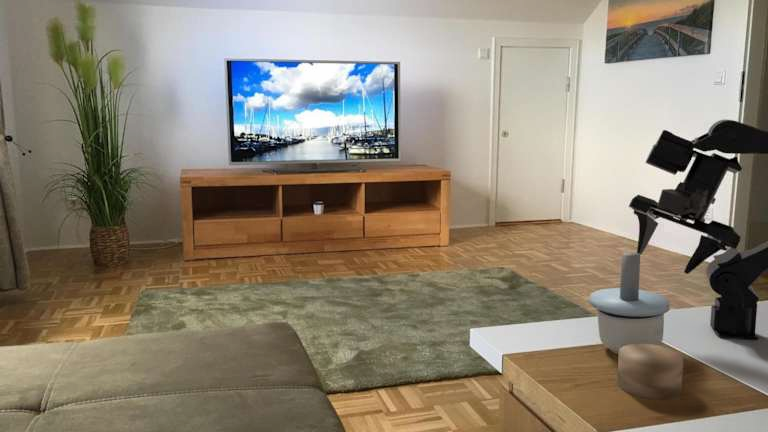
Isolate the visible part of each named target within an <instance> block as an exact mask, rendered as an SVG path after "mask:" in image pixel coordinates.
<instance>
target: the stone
mask: <svg viewBox="0 0 768 432" xmlns="http://www.w3.org/2000/svg"><path fill="white" fill-rule="evenodd" d="M617 360H618V362H617V363H618V364H617V384H618V385H617V386H618V387H619V388H620V389H622V390H623V391H625V392H626V393H629V394H630V395H633V396H636V397H640V398H643V399H650V400H651V399H652V400H668V399H674V398H676V397H678V396H680V394H682V388H683V386H682V385H683V373H684V372H683V371H684V357H683V355H682V354H681V353H680V352H678V351H677V350H674V349H673V348H670V347H666V346H663V345H660V346H659V345H653V344H630V345H626V346H623V347H621V348H620V349H619V355H618V358H617Z"/></svg>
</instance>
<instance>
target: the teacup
mask: <svg viewBox="0 0 768 432" xmlns="http://www.w3.org/2000/svg"><path fill="white" fill-rule="evenodd" d="M596 311H597V324H598V325H597V326H598V335H599V336H598V337H599V339H600V341H601V343H602V344H603V345H604V346H605V347H606V348H607V349H609V350H610V351H611V352H612V353H613V354H616V355H618V356H619V349H620V348H621V347H623V346H626V345H630V344H653V345H659V346H662V343H663V340H664V326H665V325H664V323H665V319H664V318H665V313H664V314H661V315H656V316H646V317H634V316H623V315H616V314H611V313H607V312H604V311H601V310H598V309H596Z"/></svg>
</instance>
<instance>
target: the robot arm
mask: <svg viewBox="0 0 768 432" xmlns="http://www.w3.org/2000/svg"><path fill="white" fill-rule="evenodd" d="M694 149H696V150H694ZM697 150H698V151H697ZM700 151H701V152H700ZM711 151H717V152H718V153H719V152H720V153H722V154H726V155H727V154H732V155H733V154H737V155H738V154H739V155H748V154H749V155H753V154H755V155H757V154H758V155H759V154H763V155H764V154H767V155H768V131H767V130H763V129H760V128H757V127H755V126H752V125H749V124H745V123H742V122H739V121H736V120H732V119H720V120H718V121H716V122H715V123H714V122H713V124H712V125H711V126H710V127H709V129H708V131H707V132H706V133H704V134H702V135H700V136H699V137H695V138H694V139H693V140H688V139H686V138H683V137H680V136H678V135H676V134H674V133H673V132H672V131H669V130H666V129H663V130H662V132H661V133H660V135H659V136H658V139H657V141H656V142H655V144H654V143H653V146H652V148H651V150H650V152H649V153H648V155H647V158H646V160H645V164H647V165H650V166H652V167H654V168H656V169H659V170H662V171H664V172H667V173H669V174H672V175H673V176H675V175H677V173H678V172H679V173H685V172H686V170H687V168H688V166H689V165H690V163H691V161H692V159H693V158H694V160H693V162H692V164H691V166H690V168H689V170H688V172H687V174H686V176H685V178H684V180H683V181H679V183H678V184H677V185H676V187H675V188H674V189H673V188H667V189H662V190H661V193H660V196H659V200H658V202H657V201H656V200H655V199H653V198H649V197H647V196H644V195H641V194H636V195H635V196H634V197H632V199H631V200H630V203H629V205H628V207H629V208H630V209H632V210H633V214H634V216H637V220H638V228H639V229H638V240H637V251H636V253H639V254H640V255H643V253H644V251H645V250H646V248H647V246H648V244H649V242H650V241H651V239H652V237H653V235H654V233H655V231H656V230H657V227H658V225H659V222H657V221H656V220H658V219H660V218H661V219H664V220H667V221H668V222H669V221H670V222H672V223H675V224H678V225H680V226H683V227H686V228H689V229H690V230H691V229H692V230H693V231H697V232H700V233H703V234H705V235H703V234H701V235H700V239H699V243H698V246H697V247H696V249H695V251H694V252H693V254H692V256H691V257H690V259H689V261H688V262H687V264H686V266H685V269H684V273H685V274H686V275H688V274H690V273H691V272H692V271H693V270H695V269H696V268H697V267H698V266H700V265H701V264H702V263H703V262H705V261H706V260H707V259H708V258H710V257H711V256H713V260H712V261H710V262H709V263H708V265H707V267H706V270H705V271H706V273H705V274H706V275H705V276H706V278H707V280H708V283H709V286H710V287H711V290H713V291H714V293H716V294H717V295H720V297H719V296H718V297H717V296H715V297H714V304H712V305H711V307H710V309H711V310H710V321H709V322H710V323H709V324H710V327H711V328H712V330H713V331H714V332H715V333H716V335H717V336H718V337H719V338H726V339H727V338H728V339H729V338H731V339H746V340H748V339H749V340H751V339H752V340H759V335H758V334H757V333H756V326H757V325H756V324H757V316H758V315H757V314H758V301H759V300H760V299H759V296H758V294H757V293H756V291H755V289H754V288H753V287H752V285H753V284H755V282H756V281H757V280H758V279H759V278H760V277H761V276H762V275H763V274H764V273H765V272H766V271H768V240H767V241H765V242H763V243H761V244H758V245H757V246H755V247H753V248H752V249H746V250H743V251H739V250H738V248H737V247H738V245H739V244H740V242H741V235H740V233H739V232H738V231H737V230H736V229H735V228H734V227H733V226H730V225H727V224H724V223H722V222H719V221H716V220H711V221H710V222H708V223H707V222H706V218H705V216H706V214H707V213H708V210H709V208H710V206H711V205H714V204H715V202H716V200H717V199H716V198H715V196H716V194H717V193H718V190H719V187H720V186H721V185H722V182H723V180H724V178H725V176H726V174H727V172H730V173H733V174H737V173H739V172H741V171H743V168H742V166H741V164H740V163H739V160H738V156H734V157H731V158H727V157H725V156H723V155H720V154H717V153H715V152H713V153H711V155H710V154H709V155H708V154H705V152H711ZM702 152H703V153H702ZM688 220H689V221H691V222H689V221H688ZM692 222H693V223H692ZM727 247H728V248H727ZM720 250H722V251H725V252H722V253H720V254H716V253H718V252H719V251H720ZM714 254H715V255H714Z"/></svg>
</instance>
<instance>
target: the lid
mask: <svg viewBox="0 0 768 432" xmlns="http://www.w3.org/2000/svg"><path fill="white" fill-rule="evenodd" d="M620 256H621V258H620V259H621V260H620V261H621V263H620V264H621V265H620V266H621V267H620V283H619V284H620V287H616V288H615V287H614V288H613V287H611V288H603V289H599V290H596V291H593V292H591V293H590V295H589V304H590V306H592V307H593V308H594V309H596V310H597V309H598V310H601V311H604V312H607V313H611V314H616V315H623V316H634V317H646V316H656V315H661V314H664V315H665V314H666V313H668V312H669V311H670V308H671V302H670V301H671V300H670V299H668V297H666V296H663V295H661V293H660V294H659V293H656V292H652V291H649V290H644V289H643V290H642V289H640V274H641V273H640V271H641V270H640V269H641V268H640V267H641V254H639V253H637V252H633V251H626V252H625V251H623V252H622V253H621V255H620Z"/></svg>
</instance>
